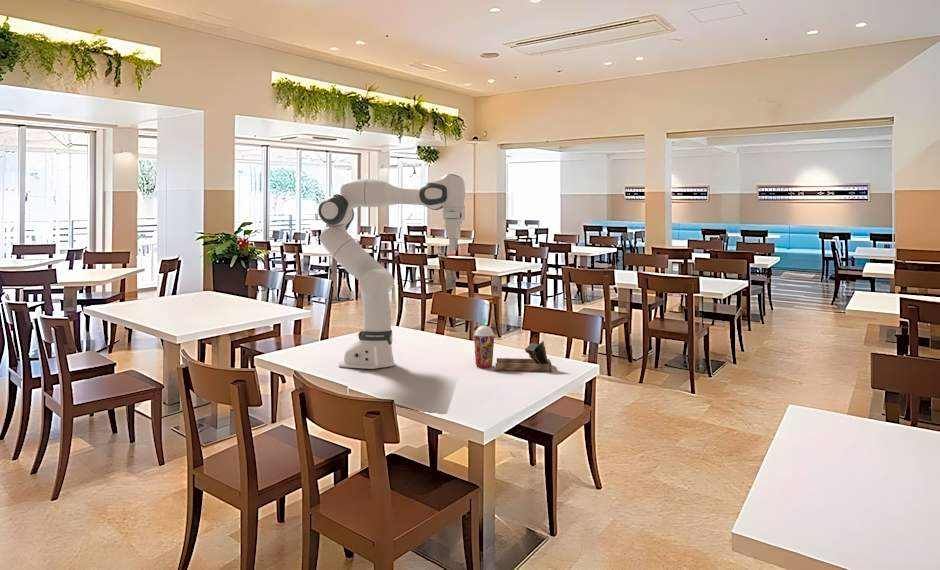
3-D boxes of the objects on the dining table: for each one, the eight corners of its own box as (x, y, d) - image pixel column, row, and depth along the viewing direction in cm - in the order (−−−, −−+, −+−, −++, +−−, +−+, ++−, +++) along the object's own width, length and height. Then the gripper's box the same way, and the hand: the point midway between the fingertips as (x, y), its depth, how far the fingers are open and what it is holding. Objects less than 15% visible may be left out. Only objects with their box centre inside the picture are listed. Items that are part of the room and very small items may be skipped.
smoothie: (492, 369, 247) (492, 320, 246) (471, 369, 249) (472, 319, 248) (495, 366, 255) (496, 318, 255) (475, 365, 257) (476, 317, 256)
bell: (535, 366, 256) (535, 337, 255) (548, 369, 251) (549, 339, 250) (520, 369, 249) (520, 339, 249) (533, 372, 244) (534, 341, 243)
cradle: (495, 370, 245) (495, 363, 244) (496, 365, 259) (496, 358, 258) (551, 372, 243) (551, 364, 243) (549, 366, 257) (549, 359, 257)
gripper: (448, 217, 257) (448, 250, 257) (442, 213, 236) (442, 249, 237) (464, 217, 256) (463, 250, 257) (459, 213, 236) (459, 249, 236)
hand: (453, 250), depth 247 cm, fingers open, 8 cm apart
